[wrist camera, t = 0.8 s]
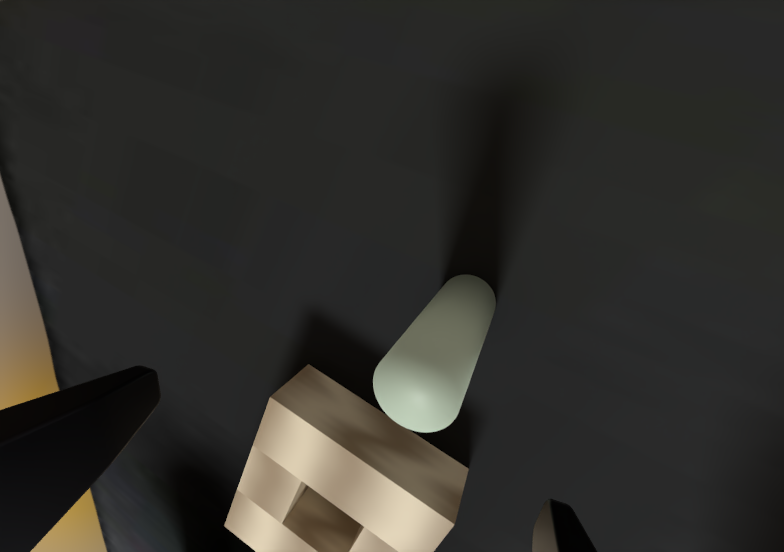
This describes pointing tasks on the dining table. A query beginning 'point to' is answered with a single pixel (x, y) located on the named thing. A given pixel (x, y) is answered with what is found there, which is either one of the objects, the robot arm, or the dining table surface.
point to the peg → (436, 357)
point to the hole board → (341, 477)
